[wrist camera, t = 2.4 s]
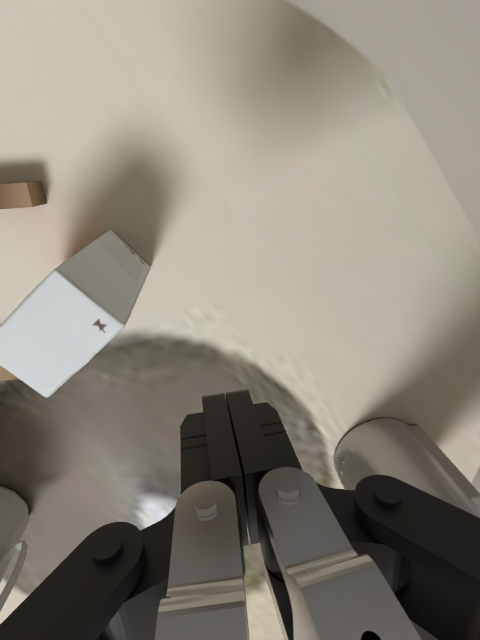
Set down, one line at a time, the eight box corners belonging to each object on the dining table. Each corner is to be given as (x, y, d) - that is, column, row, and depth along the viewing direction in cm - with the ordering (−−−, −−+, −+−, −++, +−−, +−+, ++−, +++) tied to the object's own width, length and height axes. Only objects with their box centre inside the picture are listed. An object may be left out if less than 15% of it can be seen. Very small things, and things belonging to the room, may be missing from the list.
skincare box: (109, 226, 27) (56, 264, 16) (152, 267, 29) (129, 326, 18) (56, 281, 28) (-28, 351, 17) (100, 317, 30) (48, 402, 19)
